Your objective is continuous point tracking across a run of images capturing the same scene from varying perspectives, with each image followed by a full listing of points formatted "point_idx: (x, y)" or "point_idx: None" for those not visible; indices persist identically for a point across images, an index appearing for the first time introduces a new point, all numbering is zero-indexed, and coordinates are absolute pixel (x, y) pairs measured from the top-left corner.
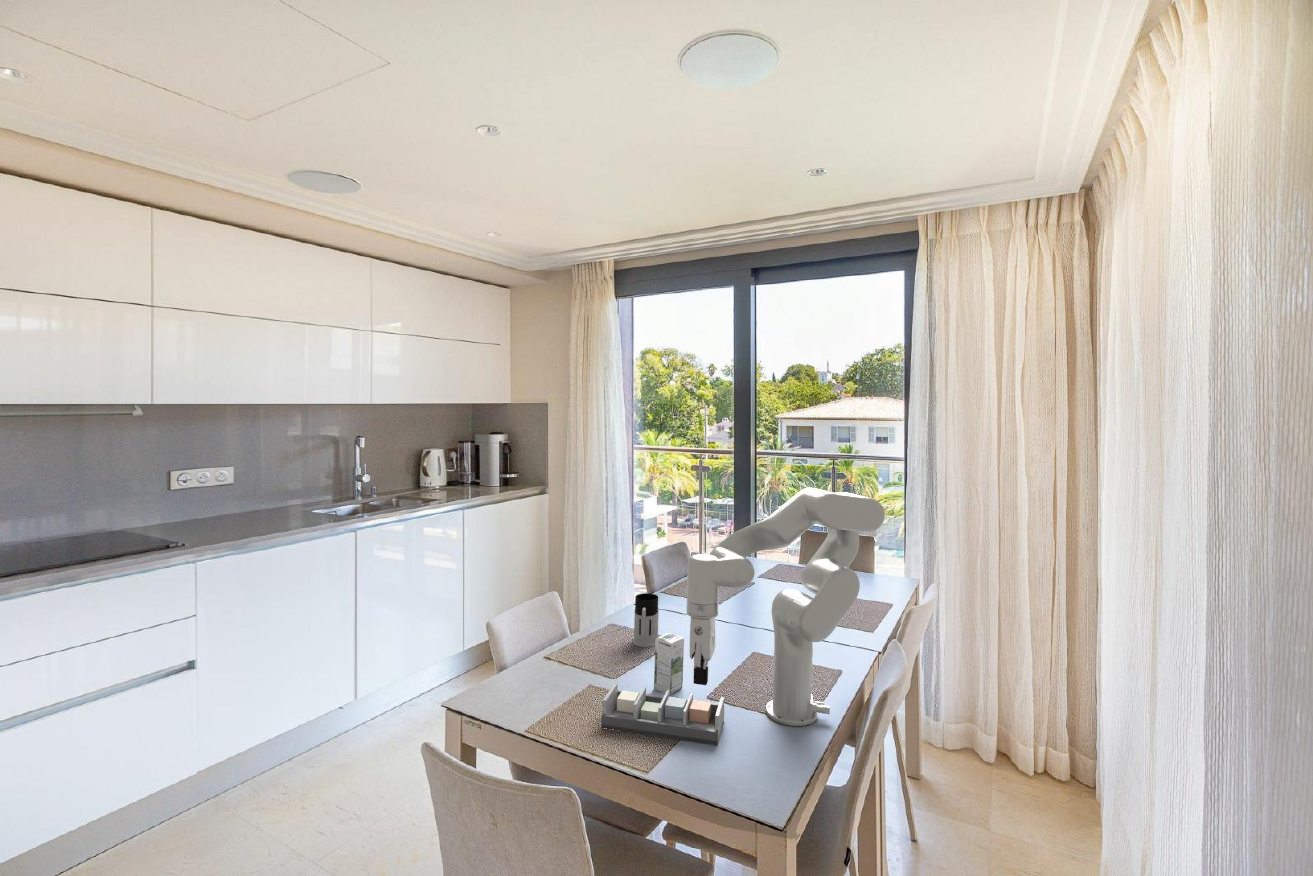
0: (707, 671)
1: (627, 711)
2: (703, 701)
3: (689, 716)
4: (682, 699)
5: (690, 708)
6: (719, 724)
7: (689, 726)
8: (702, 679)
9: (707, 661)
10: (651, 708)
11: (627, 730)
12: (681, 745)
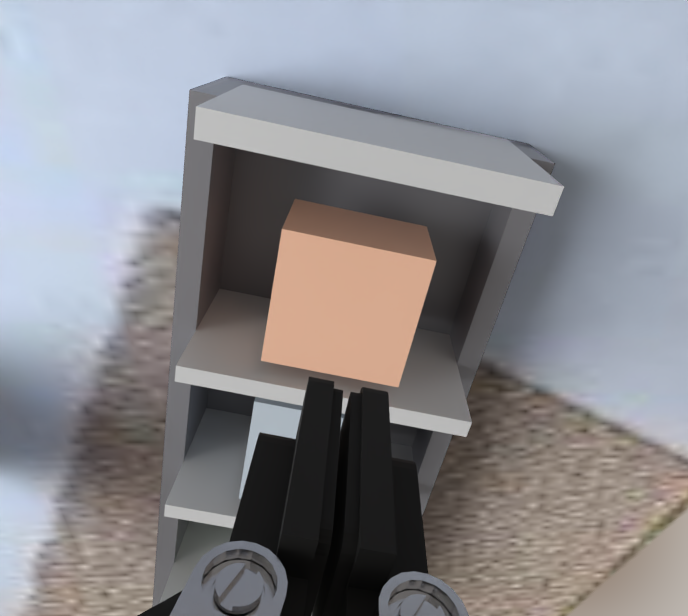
0: (320, 484)
1: None
2: (278, 289)
3: None
4: (265, 427)
5: (398, 383)
6: (479, 149)
7: (466, 342)
8: (417, 486)
9: (200, 593)
10: None
11: None
12: (506, 341)
